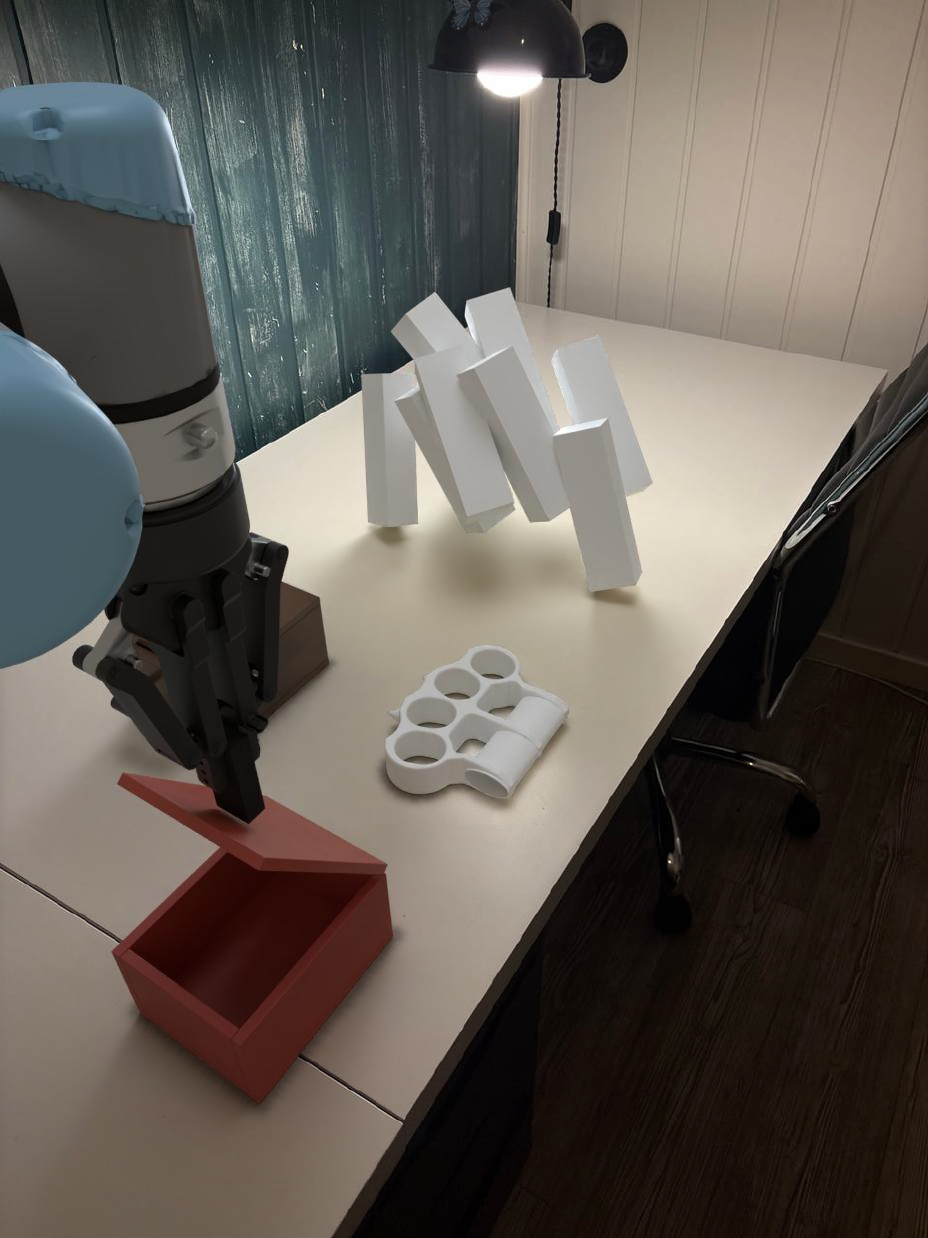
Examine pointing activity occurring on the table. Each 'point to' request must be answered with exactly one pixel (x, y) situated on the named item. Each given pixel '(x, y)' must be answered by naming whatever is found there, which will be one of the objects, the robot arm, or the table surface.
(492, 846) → the table surface
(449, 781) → the white brass knuckles
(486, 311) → the pile of blocks
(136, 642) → the cabinet
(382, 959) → the table surface
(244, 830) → the lid
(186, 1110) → the table surface
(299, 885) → the chest
